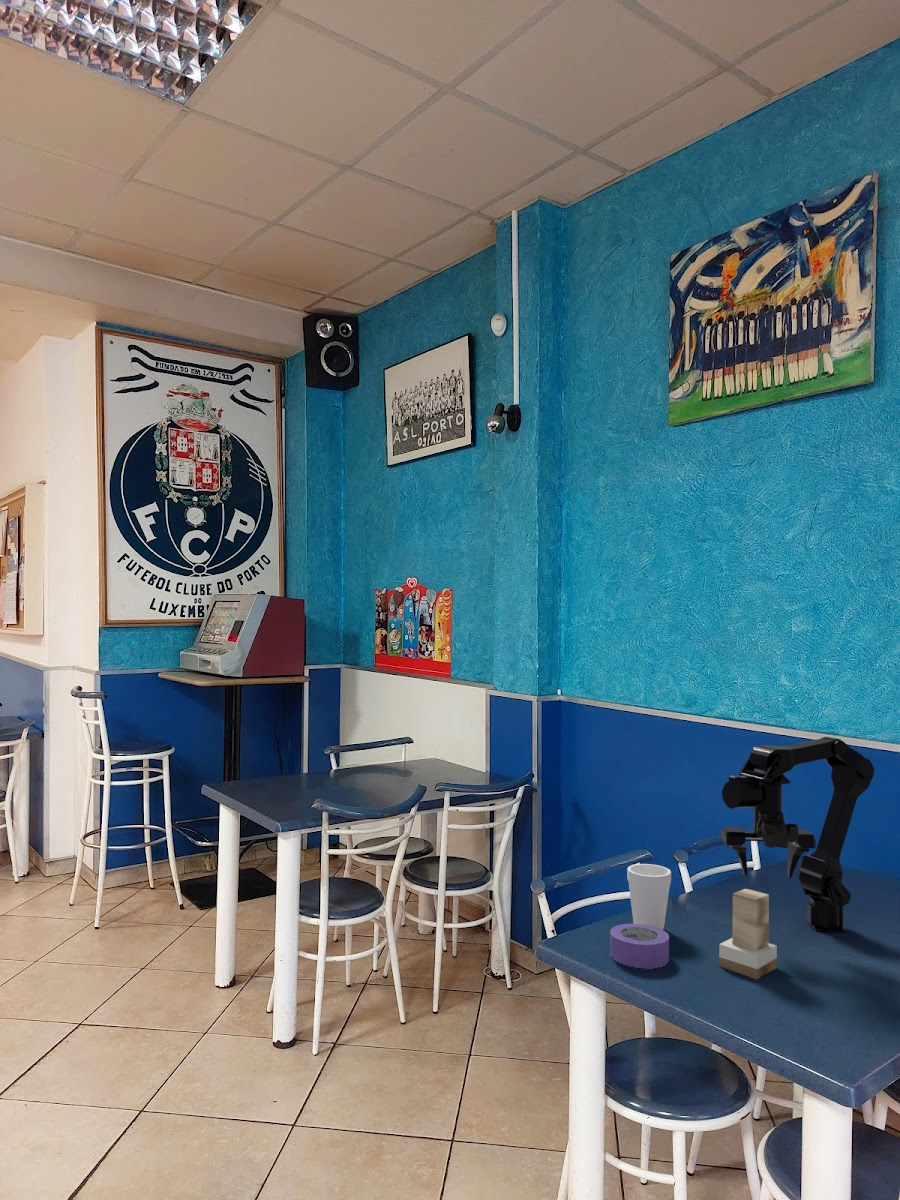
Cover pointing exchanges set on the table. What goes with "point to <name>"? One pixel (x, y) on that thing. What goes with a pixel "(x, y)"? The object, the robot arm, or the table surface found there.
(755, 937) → the beech pillar
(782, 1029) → the table surface
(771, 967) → the walnut slab
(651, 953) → the tape roll
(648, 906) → the foam cup
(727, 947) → the cream slab
